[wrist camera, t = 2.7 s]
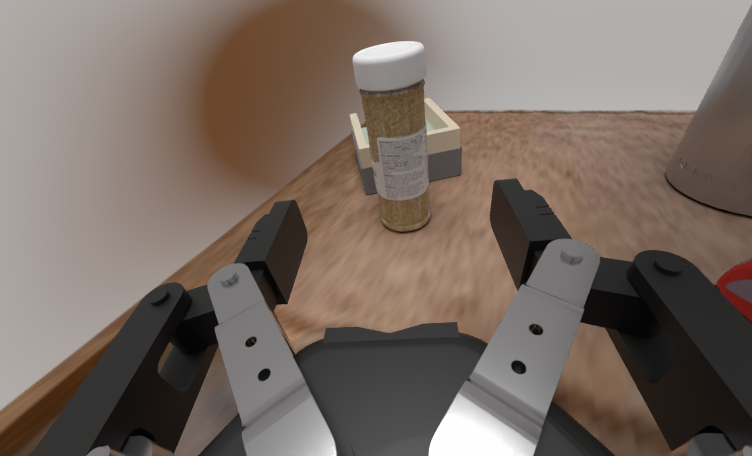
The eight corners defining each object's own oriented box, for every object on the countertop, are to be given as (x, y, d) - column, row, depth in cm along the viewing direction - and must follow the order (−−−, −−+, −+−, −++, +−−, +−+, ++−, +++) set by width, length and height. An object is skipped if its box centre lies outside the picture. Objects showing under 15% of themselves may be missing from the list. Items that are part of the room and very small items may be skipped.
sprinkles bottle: (384, 203, 29) (359, 45, 21) (432, 202, 28) (425, 35, 20) (377, 234, 26) (343, 61, 17) (431, 234, 25) (423, 50, 16)
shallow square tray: (432, 137, 39) (430, 97, 36) (460, 174, 31) (462, 127, 28) (356, 153, 39) (347, 114, 36) (366, 195, 31) (356, 149, 28)
